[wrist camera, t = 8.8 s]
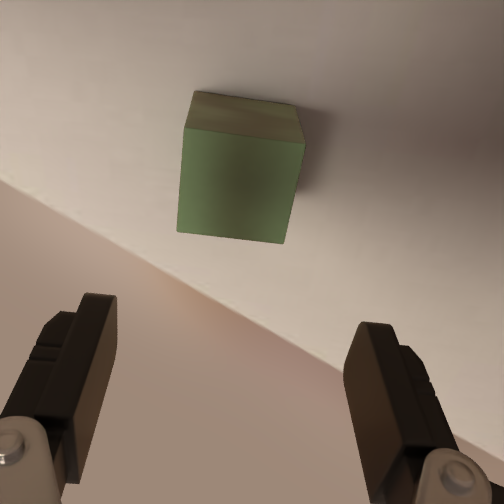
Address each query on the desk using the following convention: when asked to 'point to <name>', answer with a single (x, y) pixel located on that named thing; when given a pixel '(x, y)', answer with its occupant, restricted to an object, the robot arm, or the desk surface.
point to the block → (239, 168)
